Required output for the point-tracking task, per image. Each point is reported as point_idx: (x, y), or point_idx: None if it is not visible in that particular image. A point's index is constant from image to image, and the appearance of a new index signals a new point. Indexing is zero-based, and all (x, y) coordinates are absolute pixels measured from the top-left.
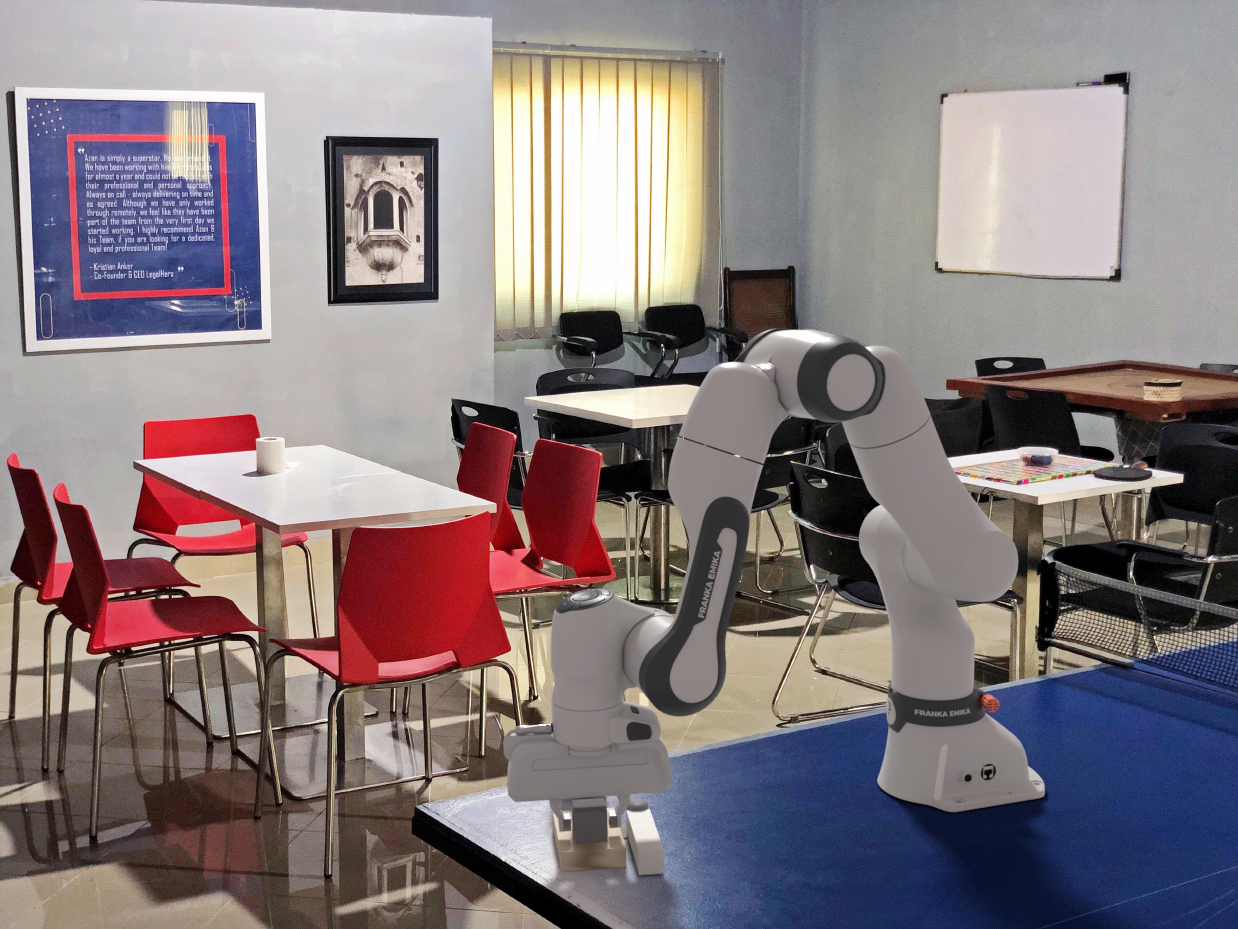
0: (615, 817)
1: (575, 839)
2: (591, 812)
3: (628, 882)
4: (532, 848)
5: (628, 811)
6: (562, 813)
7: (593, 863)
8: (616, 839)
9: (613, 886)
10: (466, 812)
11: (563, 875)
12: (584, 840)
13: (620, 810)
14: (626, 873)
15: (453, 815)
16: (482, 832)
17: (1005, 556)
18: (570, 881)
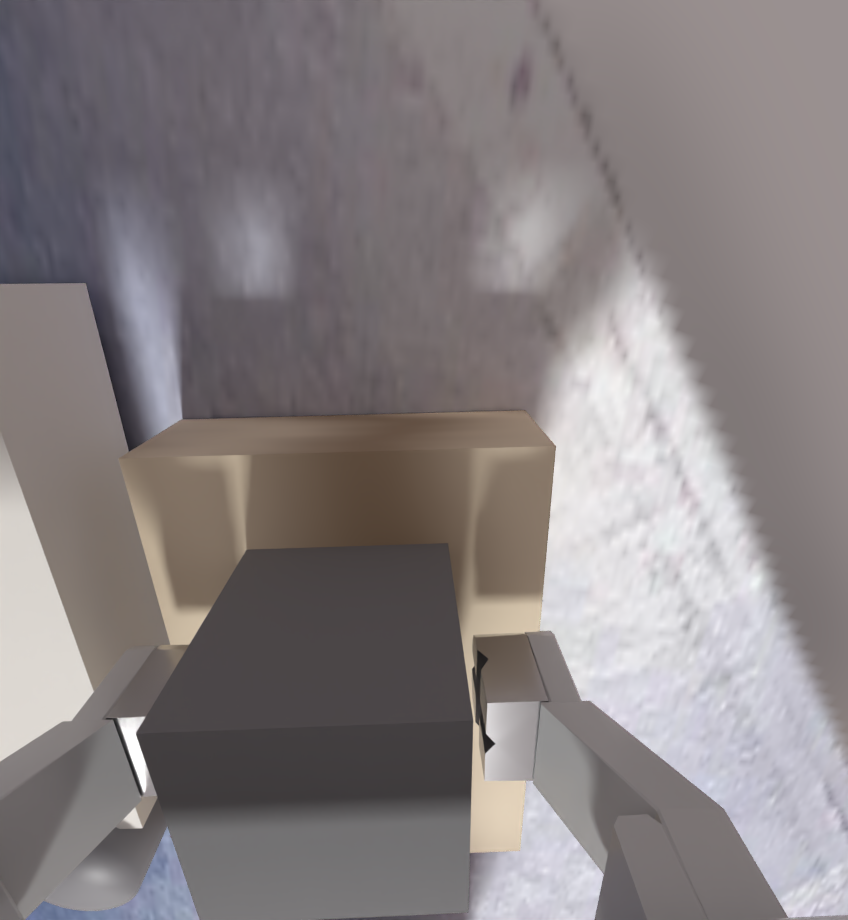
0: (129, 706)
1: (449, 560)
2: (302, 725)
3: (155, 230)
4: (612, 640)
5: (130, 819)
6: (550, 769)
7: (351, 426)
8: (193, 572)
9: (244, 187)
10: (775, 881)
11: (517, 371)
12: (391, 557)
13: (42, 760)
14: (176, 348)
15: (823, 868)
16: (768, 767)
17: None
18: (489, 293)
